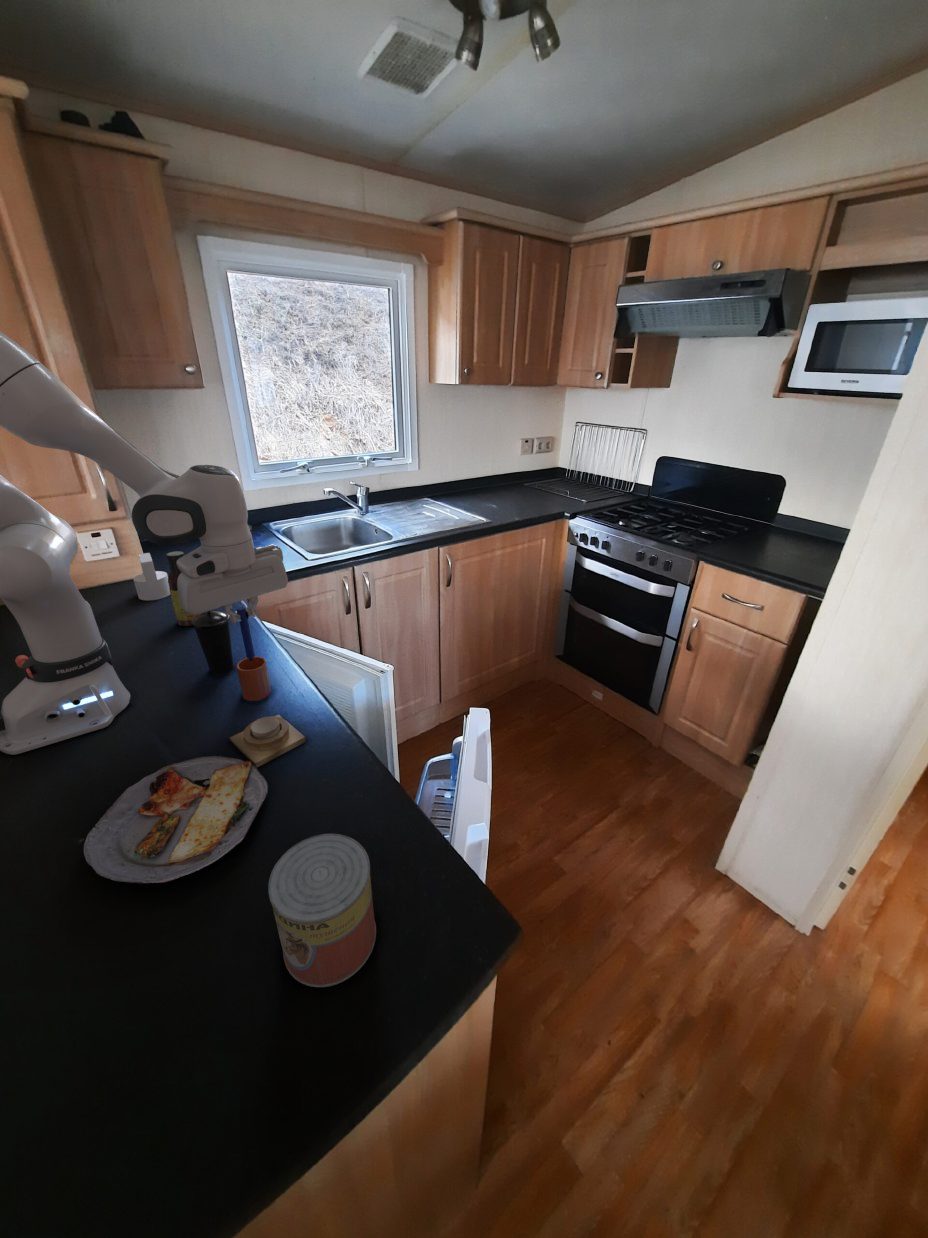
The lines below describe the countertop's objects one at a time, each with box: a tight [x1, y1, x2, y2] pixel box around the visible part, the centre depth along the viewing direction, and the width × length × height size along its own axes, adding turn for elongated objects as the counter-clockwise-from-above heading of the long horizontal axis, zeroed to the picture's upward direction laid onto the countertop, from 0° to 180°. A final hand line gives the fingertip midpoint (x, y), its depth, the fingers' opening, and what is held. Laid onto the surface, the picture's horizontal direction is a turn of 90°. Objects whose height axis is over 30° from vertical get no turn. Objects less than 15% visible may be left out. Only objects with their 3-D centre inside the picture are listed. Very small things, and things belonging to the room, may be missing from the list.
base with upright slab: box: [132, 552, 171, 601], centre depth 154 cm, size 9×9×12 cm
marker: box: [236, 606, 256, 661], centre depth 103 cm, size 2×2×12 cm
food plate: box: [83, 755, 269, 884], centre depth 79 cm, size 25×23×4 cm
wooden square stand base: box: [229, 714, 307, 768], centre depth 95 cm, size 10×10×3 cm
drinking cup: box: [191, 610, 234, 676], centre depth 114 cm, size 8×8×20 cm
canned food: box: [267, 833, 377, 988], centre depth 61 cm, size 11×11×12 cm
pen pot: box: [236, 656, 272, 702], centre depth 108 cm, size 6×6×8 cm
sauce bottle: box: [166, 550, 202, 627], centre depth 136 cm, size 7×6×20 cm
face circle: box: [251, 716, 280, 740], centre depth 95 cm, size 5×5×2 cm
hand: (243, 619), depth 102 cm, fingers closed on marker, 1 cm apart
